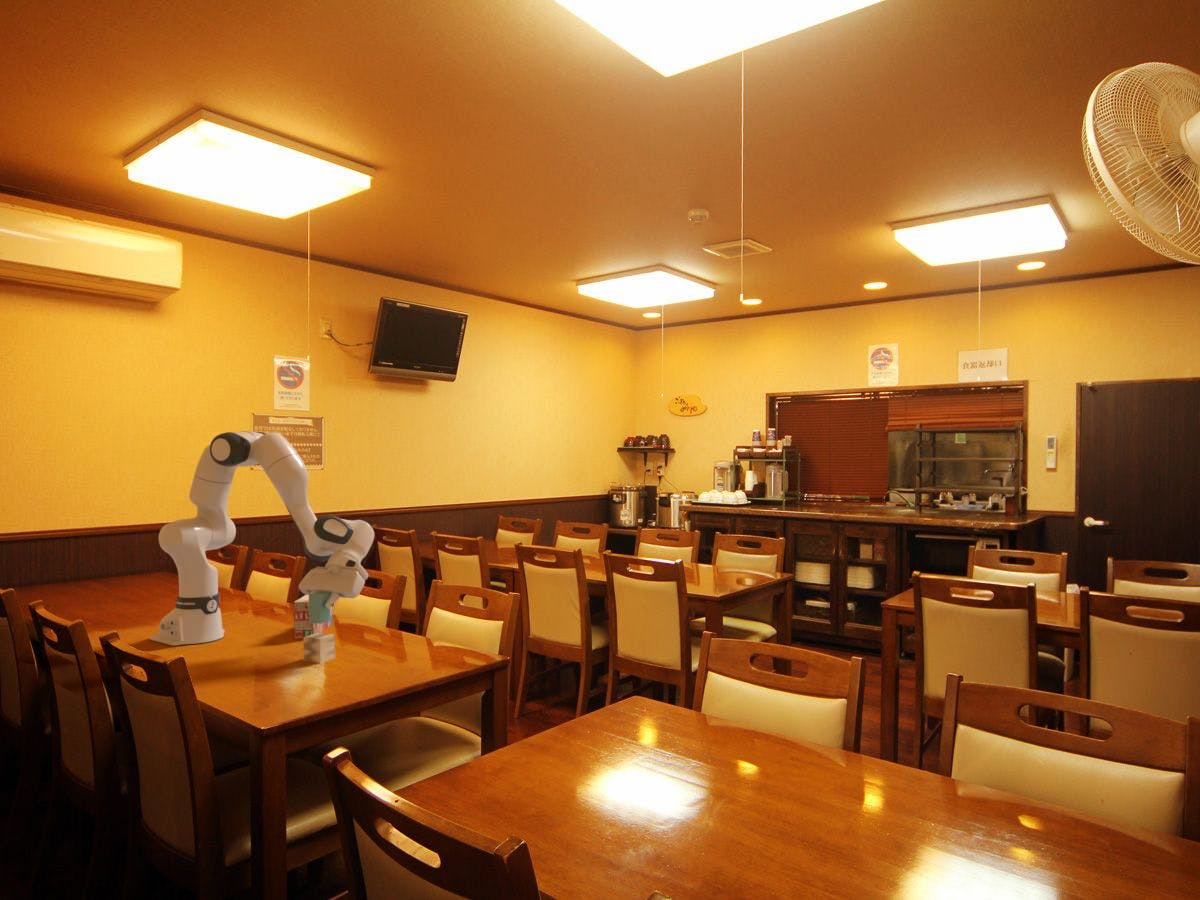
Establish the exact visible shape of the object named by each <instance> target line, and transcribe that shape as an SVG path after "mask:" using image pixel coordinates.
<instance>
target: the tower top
mask: <svg viewBox="0 0 1200 900" xmlns="http://www.w3.org/2000/svg"><path fill="white" fill-rule="evenodd" d="M335 637H336V635H335V634H334V633H326V632H322V633H315V634H312V635H309V636H306V637H303V639H302V640H303V641H302V642H303V648H302V649H303V651H304V650H312V651H323V650H326V649H329V648H331V647H334V646H335V645H336V644H335V642H336V641H335V640H336V638H335ZM335 647H336V646H335Z"/></svg>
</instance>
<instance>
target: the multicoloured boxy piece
mask: <svg viewBox="0 0 1200 900" xmlns="http://www.w3.org/2000/svg"><path fill="white" fill-rule="evenodd" d="M308 602H309V595H306V594H304V595H303V596H301V597H300V598H298V599H297V600H295V601H293V624H294V625H293V627H294V628H293V639H294V638H300V639H299V640H303V639H302V638H303V637H306V636H309V635H312V634H315V633H321V632H322V631H323V632H324V631H325V630H326V629H327V628H330V626H332V625H333V608H334V607H333V604H332V605H331V606H330V621H327V622H324V623H320V624H319V623H309V606H308ZM323 632H322V633H323Z"/></svg>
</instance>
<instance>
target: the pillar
mask: <svg viewBox="0 0 1200 900" xmlns="http://www.w3.org/2000/svg"><path fill="white" fill-rule="evenodd" d="M329 598H330V593H321V592H318V593H314V594H310V595H309V623H319V624H320V623H324V622H327V621H330V608H329V609H325V608H324V607H323V606H322V604H323V603H324V601H327V600H328V599H329Z"/></svg>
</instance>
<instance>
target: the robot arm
mask: <svg viewBox="0 0 1200 900" xmlns="http://www.w3.org/2000/svg"><path fill="white" fill-rule="evenodd" d="M250 466H260V467H261V468H262V469H263V471H264V472H265V474H266V475H267V477H268V479H269V480H270V482H271V483H272V485H273V487H274V488H275V489H276V491H277V493H278V495H279V496H280V499H281V500H282V501H283V504H284V505H285V507H286V510H287V512H288V513H289V515H290V517H291V519H292V520H293V522H294V524H295V526H296V527H297V530H298V531H299V533H300V535H301V538H302V542H303V549H304V552H305V554H306V556H307V557H309V558H310V559H311V560H314V561H317V562H326V563H325V566H316V567H314V568H312V569H310V570H309V571H308V573H306V574H305V575H304V577H303V578H302V580H301V581H300V583H299V584H298V590H299V591H300V592H301V593H302V594H303V595H310V594H314V593H318V592H321V593H330V598H329V599H328V600H327V601H324V603H323V604H322V606H323V607H324V608H325V609H329V608H330V606H331V605H332V606H333V604H334V603H336V602H337V601H339V599H340V598H341V599H342V598H345V599H355V598H357V597H359V595H360V594H361V592H362V590H363V588H364V585H365V584H366V580H368V577H369V575H370V574H368V572H367V571H366V569H365V568H364V566H362V565H361V562H362V561H363V559H364V558H366V556H367V555H368V553H369V551H370V549H371V547H372V545H373V543H374V540H375V531H374V529H373V526H371V525H370V524H369V523H368V522H367V521H365V520H362V519H355V520H352V519H351V520H350V519H349V520H348V519H343V518H341V517H339V516H337V515H334V514H325V515H322V516H320V517H317V516H316V514H315V513H314V511H313V509H312V507H311V505H310V503H309V498H308V485H309V471H308V469H307V466H306V464H305V462H304V460H303V459H302V457H301V456H300V455H299V453H298V452H297V450H296V449H295V448H294V446H293V445H292V444H291V443H290V442H289V441H288V440H287V439H286V438H285V437H284V436H283V434H281V433H278V432H267V433H265V432H262V431H250V430H241V431H234V432H232V431H228V432H223V433H220V434H217V435H216V436H214V437H213V439H212V440H211V442H210V444H209V445H207V446H206V447H205V448H204V449H203V451H202V453H201V455H200V458H199V460H198V462H197V465H196V469H195V471H194V475H193V479H192V483H191V485H190V486H191V487H190V489H189V496H188V497H189V500H190V502H192V503H193V505H194V506H196V510H197V513H196V516H195V517H193V518H192V517H191V518H181V519H178V520H174V521H171V522H168V523H166V524H164V525H163V526H162V527H161V528H160V531H159V533H158V544H159V546H160V548H161V549H162V550H163V551H164V552H165V553H167V554H168V555H169V556H170V557H171V559H172V560H173V562H174V564H175V566H176V569H177V573H178V586H179V587H178V593H179V594H178V596H177V597H174V598H172V600H173V601H172V602H175V605H174V608H173V609H172V610H171V611H170V612H168V613H167V614H165V616H163V617H162V619H160V621H159V625H158V632H157V633H155V634H153V635H151V636H150V637H149V640H150V641H153V642H158V643H161V644H164V645H165V644H166V645H168V646H180V645H181V646H182V645H191V644H192V645H193V644H203V643H209V642H213V641H218V640H220V639H222V638H223V637H224V636H225V635H224V634H225V631H226V630H225V629H224V628H223V621H222V620H223V619H222V612H221V611H222V610H221V608H220V607H219V605H220V602H221V601H220V600H221V597H220V593H219V570H218V568H217V567H216V566H215V565H213V564H212V563H210V562H209V561H208V558H207V555H206V552H207V551H211V550H212V551H213V550H218V549H221V548H223V547H226V546H228V545H230V544H231V543H233V541H234V540H235V538H236V534H237V531H236V530H237V528H236V525H235V523H234V521H233V520H232V519H231V518H230V517H229V516H230V515H229V512H228V503H229V502H228V501H229V496H230V492H231V487H232V485H233V480H234V475H235V473H236V470H237V468H239V467H241V468H243V467H244V468H245V467H250ZM308 606H309V602H308Z"/></svg>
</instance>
